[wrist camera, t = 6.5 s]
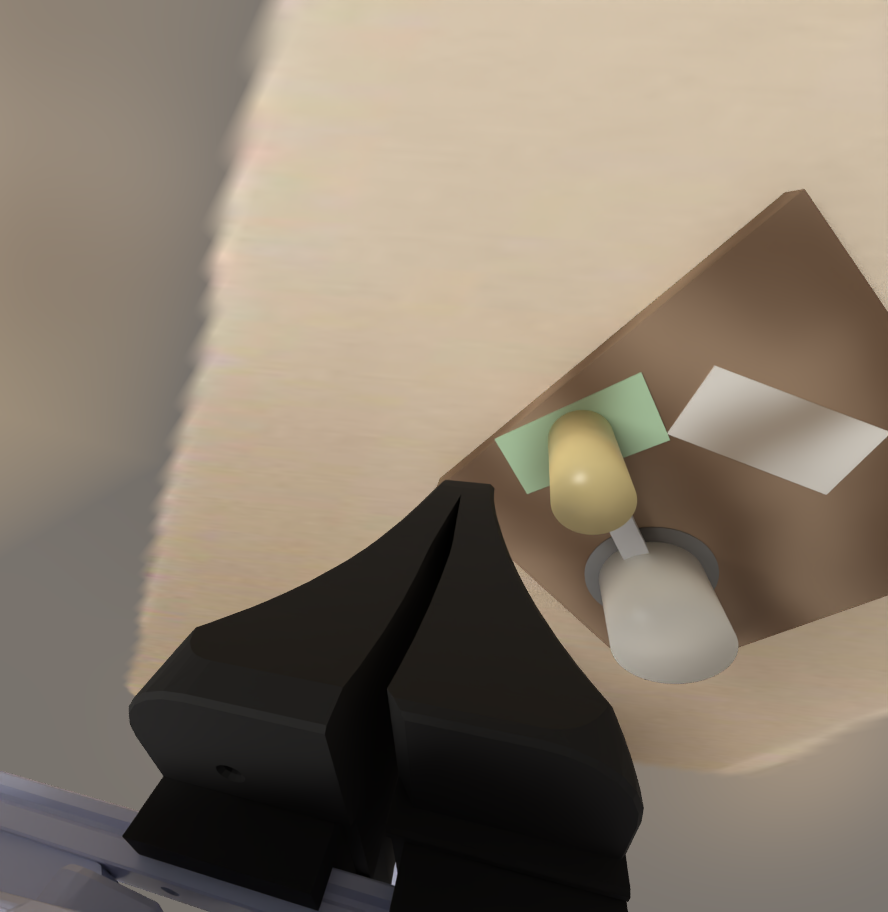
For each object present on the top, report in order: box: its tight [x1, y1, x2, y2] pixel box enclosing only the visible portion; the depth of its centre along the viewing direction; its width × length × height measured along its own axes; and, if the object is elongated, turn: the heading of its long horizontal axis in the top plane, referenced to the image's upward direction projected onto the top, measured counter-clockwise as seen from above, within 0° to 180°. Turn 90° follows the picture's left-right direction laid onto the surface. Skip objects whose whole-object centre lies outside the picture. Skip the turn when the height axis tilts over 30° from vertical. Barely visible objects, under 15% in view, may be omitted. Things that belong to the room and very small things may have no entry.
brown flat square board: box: [437, 189, 888, 680], centre depth 19 cm, size 18×18×1 cm
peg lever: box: [548, 410, 738, 684], centre depth 18 cm, size 13×5×5 cm, turn 32°
